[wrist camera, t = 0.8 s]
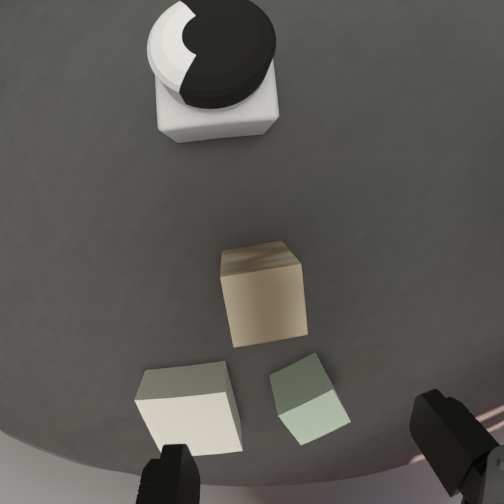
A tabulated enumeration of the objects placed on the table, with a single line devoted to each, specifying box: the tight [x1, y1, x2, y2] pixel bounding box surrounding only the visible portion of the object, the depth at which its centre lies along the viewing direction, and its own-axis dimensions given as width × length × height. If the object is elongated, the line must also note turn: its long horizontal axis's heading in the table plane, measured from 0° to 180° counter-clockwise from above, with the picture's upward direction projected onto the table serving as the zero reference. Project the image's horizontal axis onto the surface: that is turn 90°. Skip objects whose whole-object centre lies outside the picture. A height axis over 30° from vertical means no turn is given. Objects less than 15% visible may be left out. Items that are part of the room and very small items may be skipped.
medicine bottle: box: [147, 0, 279, 143], centre depth 17 cm, size 7×7×12 cm
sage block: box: [269, 353, 351, 445], centre depth 27 cm, size 5×5×6 cm
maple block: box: [220, 241, 308, 347], centre depth 23 cm, size 5×5×7 cm
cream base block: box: [135, 361, 243, 456], centre depth 27 cm, size 8×8×5 cm
